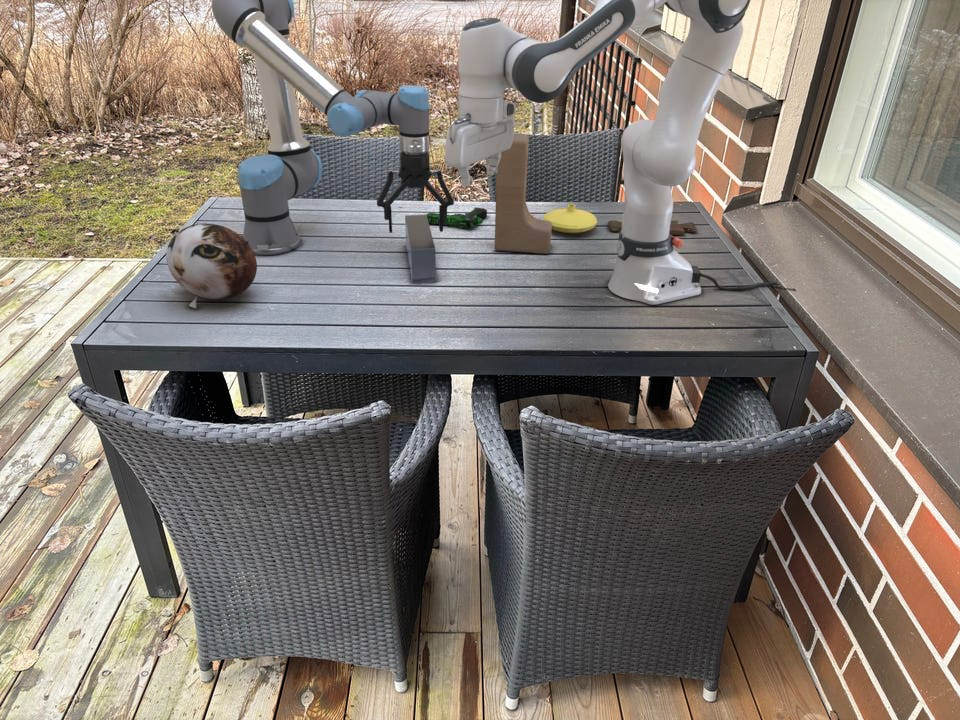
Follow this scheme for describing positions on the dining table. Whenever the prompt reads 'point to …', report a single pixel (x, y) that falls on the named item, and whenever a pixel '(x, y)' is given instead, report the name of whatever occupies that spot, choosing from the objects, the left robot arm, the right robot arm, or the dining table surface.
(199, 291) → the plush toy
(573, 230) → the yellow lid
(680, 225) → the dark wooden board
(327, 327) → the dining table surface
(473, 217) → the handgun
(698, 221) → the dining table surface
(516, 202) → the decorative block
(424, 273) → the bar
